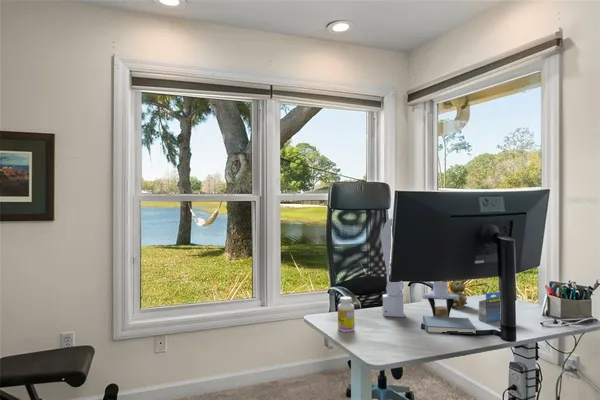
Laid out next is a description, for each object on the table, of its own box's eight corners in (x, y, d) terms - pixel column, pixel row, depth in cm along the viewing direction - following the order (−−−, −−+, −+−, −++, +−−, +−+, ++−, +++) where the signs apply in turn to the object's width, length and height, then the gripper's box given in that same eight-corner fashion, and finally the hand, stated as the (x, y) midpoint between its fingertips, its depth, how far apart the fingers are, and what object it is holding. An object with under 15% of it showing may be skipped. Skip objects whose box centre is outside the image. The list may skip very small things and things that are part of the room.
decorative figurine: (456, 310, 173) (455, 278, 173) (442, 305, 180) (441, 275, 180) (469, 306, 177) (469, 275, 178) (455, 303, 185) (454, 273, 185)
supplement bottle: (335, 328, 150) (334, 296, 151) (349, 326, 153) (349, 295, 153) (342, 333, 144) (342, 300, 144) (357, 331, 146) (357, 298, 147)
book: (426, 332, 144) (426, 325, 144) (422, 322, 157) (422, 315, 157) (475, 335, 140) (475, 328, 140) (468, 324, 153) (468, 318, 153)
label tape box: (493, 317, 161) (492, 289, 161) (501, 320, 157) (500, 291, 157) (478, 320, 157) (477, 291, 157) (486, 323, 153) (486, 293, 153)
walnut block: (435, 320, 157) (435, 309, 158) (434, 317, 162) (433, 305, 162) (448, 321, 156) (447, 309, 156) (446, 317, 161) (445, 306, 161)
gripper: (423, 286, 157) (424, 318, 157) (460, 287, 154) (460, 319, 154) (422, 282, 164) (422, 313, 164) (456, 283, 161) (457, 314, 161)
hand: (440, 316), depth 159 cm, fingers closed on walnut block, 5 cm apart
